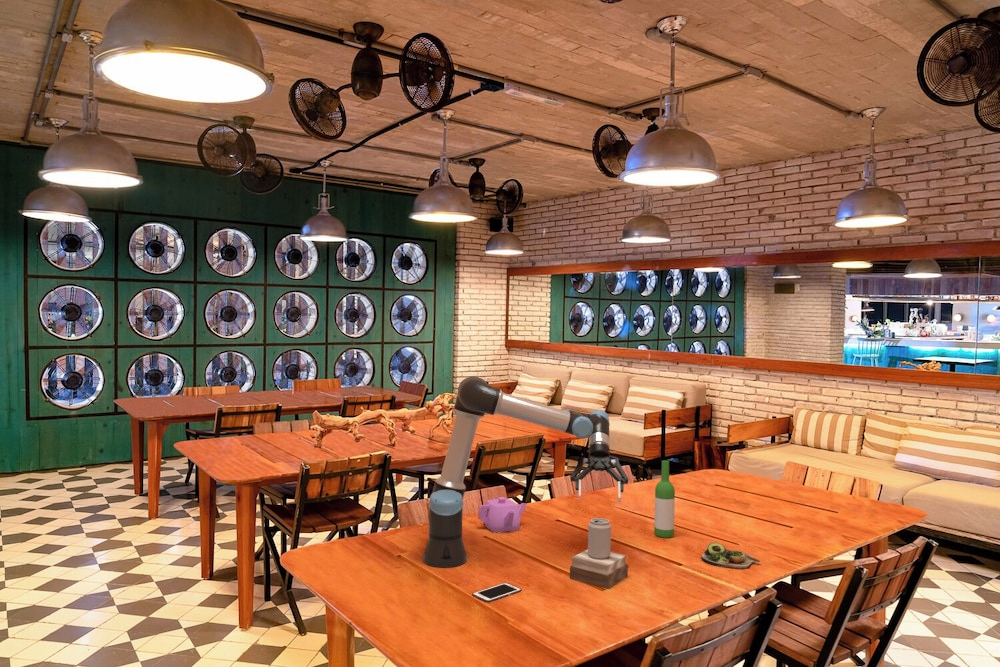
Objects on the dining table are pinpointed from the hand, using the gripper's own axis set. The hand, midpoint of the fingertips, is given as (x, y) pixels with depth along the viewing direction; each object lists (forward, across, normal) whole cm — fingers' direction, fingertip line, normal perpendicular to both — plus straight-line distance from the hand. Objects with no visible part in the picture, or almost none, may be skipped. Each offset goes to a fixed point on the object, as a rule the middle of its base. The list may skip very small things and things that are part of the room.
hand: (599, 498), depth 234 cm
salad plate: (+6, -46, -28) cm, 54 cm away
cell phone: (+38, +32, +4) cm, 49 cm away
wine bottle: (-12, -27, -46) cm, 54 cm away
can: (+19, 0, -4) cm, 20 cm away
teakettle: (-12, +38, -45) cm, 60 cm away
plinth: (+24, 0, -9) cm, 26 cm away
